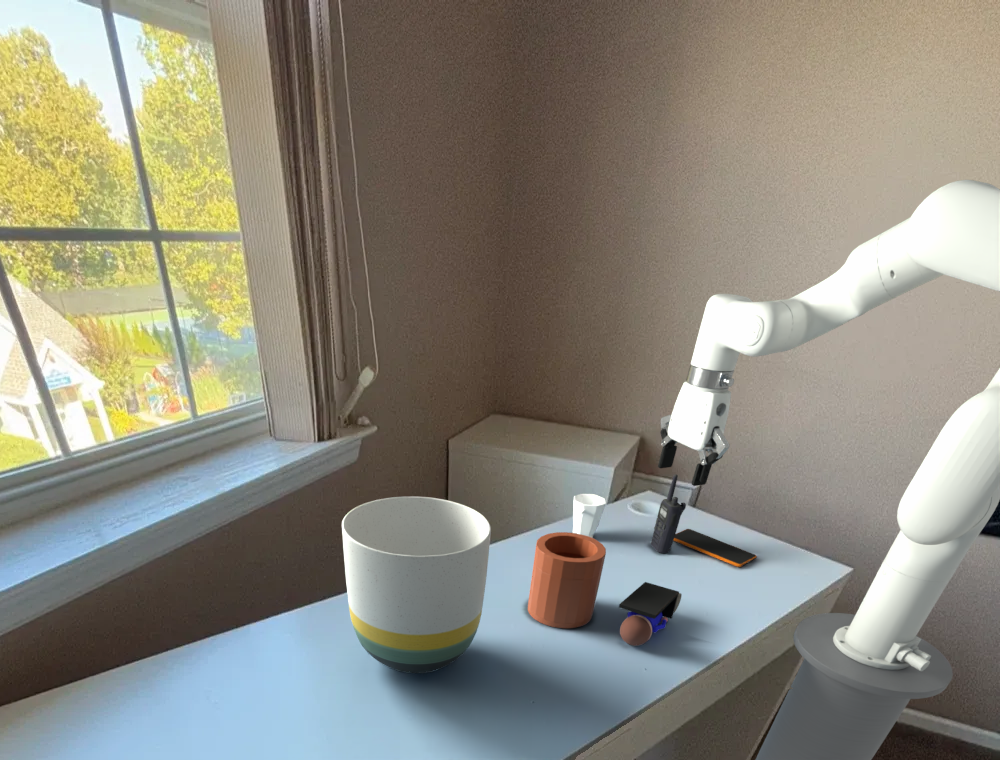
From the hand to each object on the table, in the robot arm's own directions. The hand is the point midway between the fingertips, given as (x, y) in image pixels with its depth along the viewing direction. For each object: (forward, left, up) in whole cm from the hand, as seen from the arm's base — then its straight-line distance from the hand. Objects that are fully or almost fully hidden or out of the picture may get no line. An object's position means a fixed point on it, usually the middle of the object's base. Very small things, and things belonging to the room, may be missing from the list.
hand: (681, 475), depth 123 cm
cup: (+10, +14, -15) cm, 23 cm away
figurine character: (-25, +25, -15) cm, 38 cm away
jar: (-14, +35, -15) cm, 41 cm away
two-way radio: (0, 0, -15) cm, 15 cm away
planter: (-18, +64, -15) cm, 68 cm away
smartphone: (-4, -10, -15) cm, 19 cm away
